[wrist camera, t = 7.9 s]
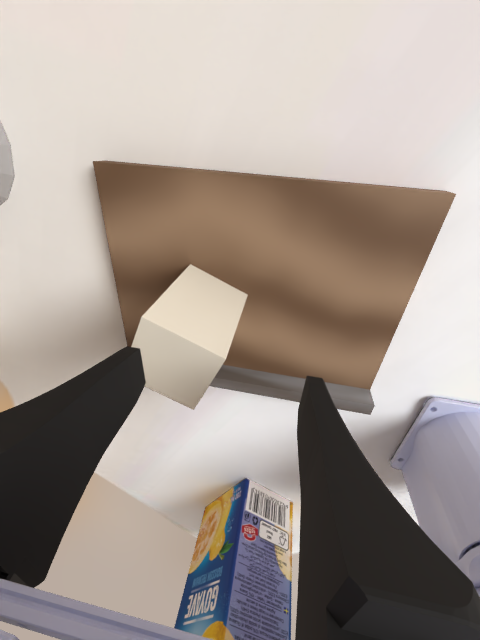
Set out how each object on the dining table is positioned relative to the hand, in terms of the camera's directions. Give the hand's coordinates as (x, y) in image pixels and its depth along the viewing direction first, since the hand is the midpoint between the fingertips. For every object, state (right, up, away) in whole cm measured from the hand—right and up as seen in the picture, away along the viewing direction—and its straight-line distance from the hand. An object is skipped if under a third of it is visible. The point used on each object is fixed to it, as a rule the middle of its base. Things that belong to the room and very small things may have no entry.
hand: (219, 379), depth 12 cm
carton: (-1, +4, +8) cm, 9 cm away
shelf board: (+2, +5, +8) cm, 10 cm away
